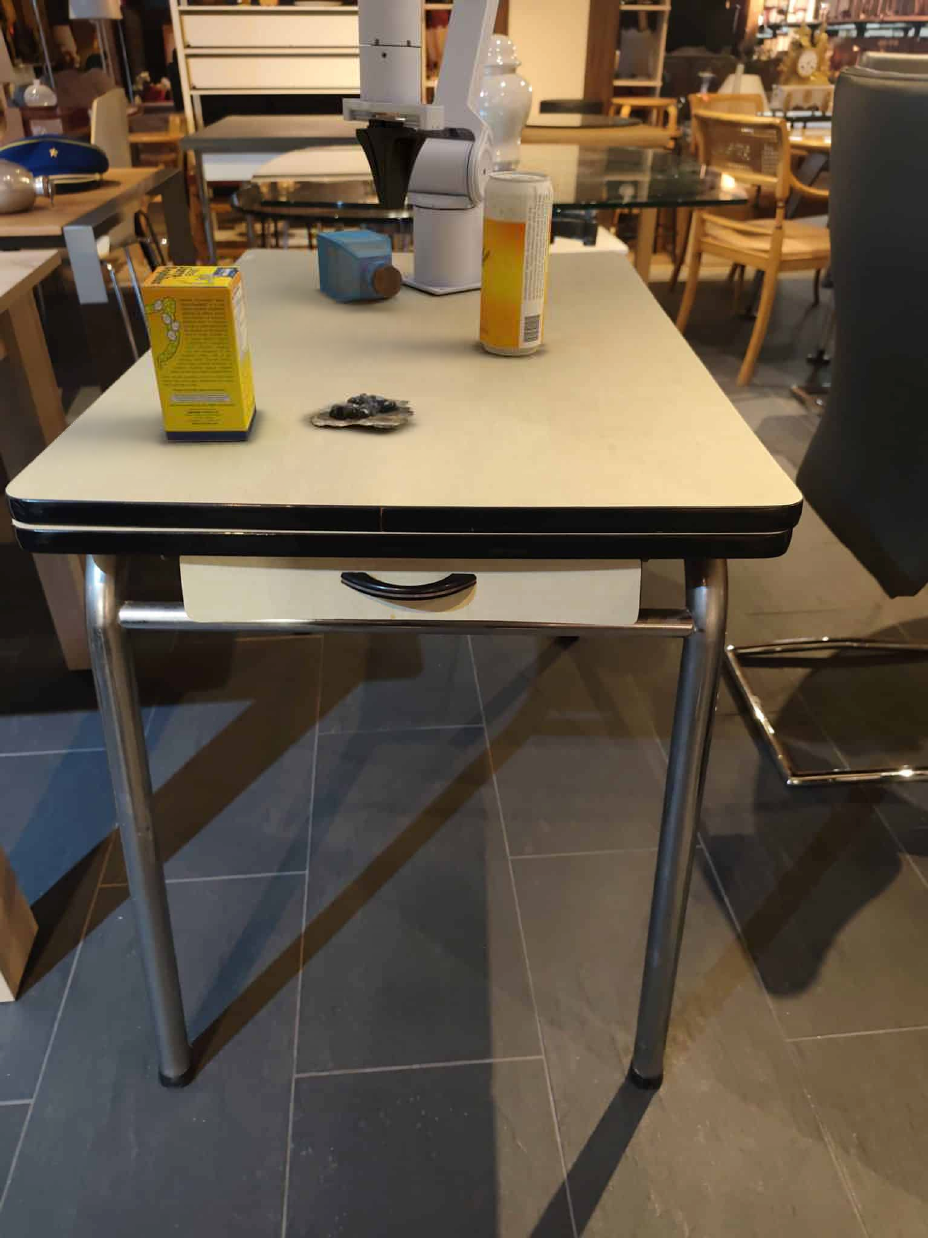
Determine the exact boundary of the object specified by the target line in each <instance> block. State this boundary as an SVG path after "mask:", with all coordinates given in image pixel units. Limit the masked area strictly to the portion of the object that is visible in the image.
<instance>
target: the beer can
mask: <svg viewBox="0 0 928 1238" xmlns="http://www.w3.org/2000/svg"><path fill="white" fill-rule="evenodd" d="M483 203H484V210H483V241H482V272H481V288H480V305H479V307H480V308H479V333H478V334H479V336H478V337H479V338H478V339H479V341H480V342H481V343H482V345H483V347H484V350H485V351H487V352H489V353H492V354H495V355H498V356H499V355H500V356H507V357H508V356H509V357H510V356H511V357H516V356H519V357H520V356H527V355H531V354H533V353H535V352H536V351H537V350H538V347H539V346H540V345H542V344H543V341H544V329H545V315H546V313H545V312H546V303H547V302H546V299H547V288H548V287H547V285H548V273H549V262H550V261H549V259H550V247H551V246H550V244H551V231H552V217H553V215H552V214H553V203H554V189H553V185H552V183H551V176H550V175H549V174H546V173H543V172H535V171H523V170H522V171H521V170H507V171H505V170H504V171H503V170H502V171H493V173H490V174H489V179H488V181H487V183H486V186H485V188H484V200H483Z"/></svg>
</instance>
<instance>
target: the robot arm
mask: <svg viewBox="0 0 928 1238" xmlns="http://www.w3.org/2000/svg"><path fill="white" fill-rule="evenodd" d="M499 3H500V0H453V2H452V5H451V6H452V7H451V11H450V17H449V21H448V26H447V32H446V36H445V42H444V45H443V46H444V47H443V51H442V57H441V61H440V68H439V71H438V77H437V82H436V88H435V92H434V98H433V102H432V103H431V104H430V103H424V102H422V48H421V47H422V0H357V20H358V44H359V45H358V57H359V59H358V60H359V62H358V63H359V93H360V95H359V98H345V97H344V98H342V118H343V119H342V120H343V121H346V122H362V123H368V125H366V128H364V127H362V128H359V127H358V128H355V137H356V139H357V141H358V143H359V144H360V146H361V148H362V151H363V153H364V155H365V158H366V160H367V163H368V166H369V169H370V172H371V176H372V181H373V184H374V189H375V192H376V197H377V201H378V204H379V208H380V209H384V210H398V209H399V210H400V209H404V208H405V204H406V200H407V204H408V205H412V208H413V209H412V229H413V230H412V233H413V234H412V235H413V236H412V237H413V241H412V242H413V243H412V245H413V248H412V249H413V250H412V251H413V275H408V276H402V280H403V281H402V284H403V285H407V286H410V287H414V288H416V289H419V290H422V291H425V292H427V293H430V294H433V295H445V294H450V293H451V294H452V293H458V292H462V291H469V290H475V289H481V272H482V241H483V210H484V188H485V186H486V183H487V181H488V179H489V174H490V173H494V155H495V148H496V146H495V145H496V144H495V140H494V135H493V133H492V130H491V128H490V126H489V125H488V124H487V123H486V121H485V120H484V119H483V118H482V117H481V116H480V115H479V114H478V107H479V102H480V98H481V92H482V87H483V83H484V78H485V72H486V69H487V63H488V57H489V53H490V47H491V43H492V38H493V33H494V28H495V23H496V18H497V13H498V8H499ZM389 114H390V115H391V114H392V115H394V117H395V118H388V117H380V116H387V115H389ZM378 116H379V117H378Z"/></svg>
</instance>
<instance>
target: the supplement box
mask: <svg viewBox="0 0 928 1238" xmlns="http://www.w3.org/2000/svg"><path fill="white" fill-rule="evenodd" d="M139 289H140V294H141V299H142V305H143V310H144V316H145V320H146V327H147V333H148V340H149V344H150V351H151V355H152V362H153V368H154V373H155V374H154V375H155V379H156V385H157V391H158V396H159V403H160V408H161V414H162V420H163V426H164V430H165V431H164V432H165V435H166V440H167V441H168V443H169V442H171V443H172V442H174V443H175V442H228V441H231V442H232V441H235V442H236V441H247V440H249V438H250V435H251V431H252V428H253V426H254V422H255V418H256V414H257V405H256V394H255V387H254V378H253V369H252V358H251V351H250V342H249V335H248V334H249V333H248V326H247V325H248V324H247V316H246V307H245V297H244V289H243V280H242V270H241V268H240V266H238V265H224V266H223V265H222V266H221V265H220V266H219V265H218V266H217V265H213V266H212V265H211V266H209V265H207V266H206V265H204V266H203V265H195V266H194V265H161V266H157V267H156V268H155V270H154V271H153V272H152V273H151V274H150V275H149V276H148V277H147V278H146V280H144V282H143V283H141V285H139Z"/></svg>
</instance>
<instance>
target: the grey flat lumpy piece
mask: <svg viewBox="0 0 928 1238" xmlns="http://www.w3.org/2000/svg"><path fill="white" fill-rule="evenodd" d="M410 402H411V400H405V399H402V400H401V399H400V400H398V399H392V398H389V397H388V398H386V397H384V396H380V395H379V396H378V395H375V394H369V395H367V393H366V392H363V393H361V394H359V395H356V396H351V397H350V398H348V399H347V401H346V402H345V403H341V404H340V403H336V404H333V405H332V406H331V407H330V408H328V409H325V410H322V411H319V412H316V413H315V414H312V416H311V418H310V419H309V421H310V422H311V423H312V424H313V425H314V426H315V425H316V426H318V427H320V426H322V427H323V426H324V425H325V426H326V425H327V426H329V425H330V426H332V427H340V428H341V427H344V426H345V427H346V426H352V425H361V426H373V427H375V428H379V429H383V428H385V429H390V428H397V427H398V426H399V425H403V424H406V422H408V418H412V417H413V416H414V415H415V414H414V413H415V412H414V411H413V410H412V407H411V406H408V405H409V404H410Z"/></svg>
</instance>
